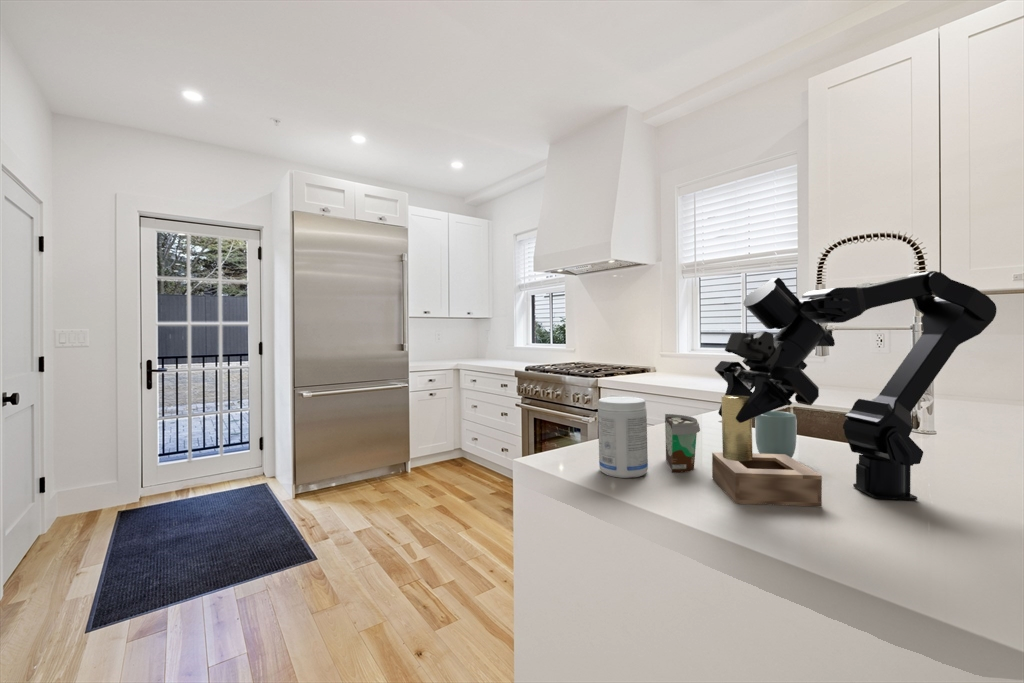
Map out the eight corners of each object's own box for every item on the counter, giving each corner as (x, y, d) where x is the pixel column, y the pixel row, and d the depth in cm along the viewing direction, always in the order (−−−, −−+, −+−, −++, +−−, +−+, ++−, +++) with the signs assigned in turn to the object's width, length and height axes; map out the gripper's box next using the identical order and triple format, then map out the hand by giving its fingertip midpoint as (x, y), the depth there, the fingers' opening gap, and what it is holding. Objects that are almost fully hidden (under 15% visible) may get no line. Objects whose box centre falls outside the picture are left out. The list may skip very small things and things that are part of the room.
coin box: (785, 480, 86) (785, 454, 86) (821, 506, 73) (821, 475, 73) (712, 478, 88) (712, 452, 88) (735, 503, 75) (735, 473, 75)
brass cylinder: (749, 454, 77) (747, 395, 77) (755, 461, 73) (754, 398, 73) (720, 453, 78) (719, 394, 78) (725, 460, 74) (724, 398, 74)
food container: (706, 476, 89) (706, 425, 89) (672, 474, 91) (672, 424, 90) (694, 459, 101) (694, 414, 101) (665, 458, 103) (664, 413, 102)
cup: (763, 463, 98) (763, 416, 98) (750, 453, 105) (750, 410, 105) (802, 464, 96) (802, 417, 96) (787, 454, 104) (787, 410, 104)
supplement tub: (645, 466, 97) (645, 396, 96) (650, 480, 87) (649, 403, 87) (598, 464, 98) (597, 395, 98) (598, 478, 89) (597, 402, 89)
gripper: (723, 317, 85) (668, 379, 84) (799, 312, 66) (730, 392, 65) (763, 358, 86) (709, 419, 85) (849, 364, 68) (782, 443, 66)
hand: (728, 418), depth 75 cm, fingers closed on brass cylinder, 4 cm apart
